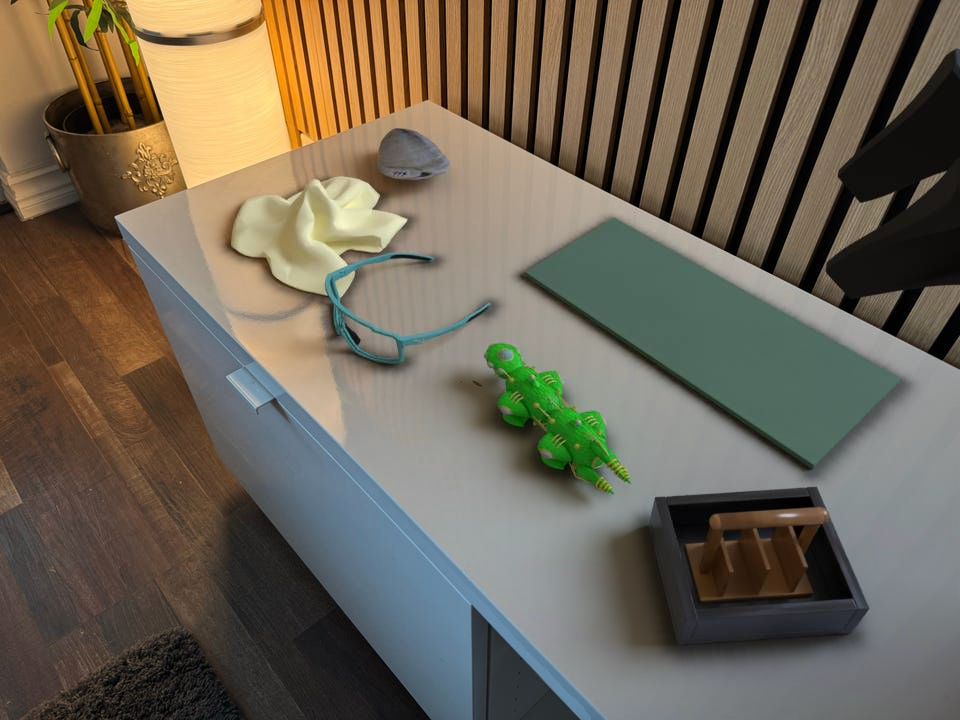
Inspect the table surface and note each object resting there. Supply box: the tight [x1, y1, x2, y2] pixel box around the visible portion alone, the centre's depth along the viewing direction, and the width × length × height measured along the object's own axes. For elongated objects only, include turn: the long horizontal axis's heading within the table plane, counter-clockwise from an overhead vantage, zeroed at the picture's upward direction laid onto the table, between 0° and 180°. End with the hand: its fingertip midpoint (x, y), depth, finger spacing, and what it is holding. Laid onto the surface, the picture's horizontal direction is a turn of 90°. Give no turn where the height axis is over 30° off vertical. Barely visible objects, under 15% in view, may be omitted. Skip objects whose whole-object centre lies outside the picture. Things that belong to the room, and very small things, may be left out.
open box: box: [648, 486, 870, 646], centre depth 54 cm, size 12×10×4 cm
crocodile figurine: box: [483, 342, 632, 495], centre depth 64 cm, size 7×18×4 cm, turn 34°
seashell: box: [376, 127, 451, 181], centre depth 93 cm, size 12×8×5 cm
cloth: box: [230, 175, 408, 299], centre depth 84 cm, size 22×19×6 cm
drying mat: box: [524, 216, 902, 470], centre depth 74 cm, size 34×14×1 cm, turn 41°
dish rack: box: [684, 507, 830, 603], centre depth 52 cm, size 8×4×8 cm, turn 93°
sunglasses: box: [325, 252, 492, 365], centre depth 75 cm, size 14×15×5 cm
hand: (844, 231), depth 37 cm, fingers open, 7 cm apart
